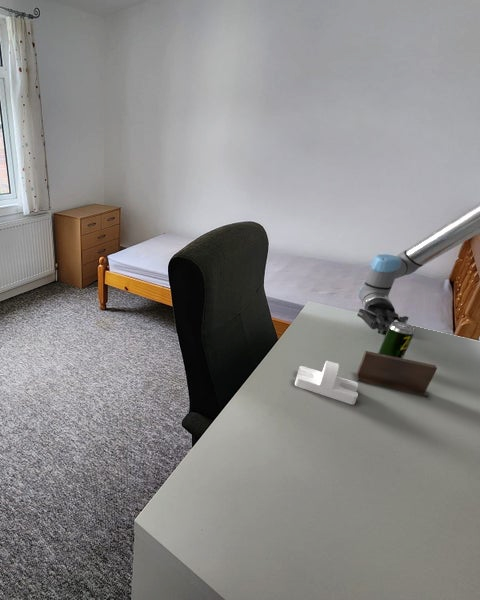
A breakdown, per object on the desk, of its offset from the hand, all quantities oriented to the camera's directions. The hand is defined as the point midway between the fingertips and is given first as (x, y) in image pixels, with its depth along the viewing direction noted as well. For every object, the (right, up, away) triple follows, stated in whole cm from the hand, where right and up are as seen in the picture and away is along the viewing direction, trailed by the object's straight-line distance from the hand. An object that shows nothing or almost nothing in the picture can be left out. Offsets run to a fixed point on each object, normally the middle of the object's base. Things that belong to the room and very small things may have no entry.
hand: (392, 339), depth 99 cm
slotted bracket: (-27, -12, -9) cm, 31 cm away
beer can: (-1, -7, 0) cm, 7 cm away
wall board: (-9, -11, -9) cm, 17 cm away
